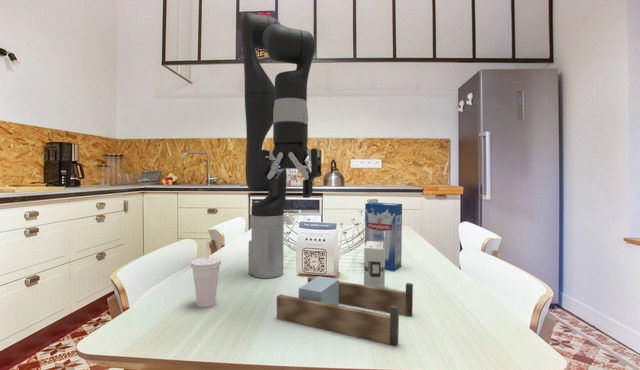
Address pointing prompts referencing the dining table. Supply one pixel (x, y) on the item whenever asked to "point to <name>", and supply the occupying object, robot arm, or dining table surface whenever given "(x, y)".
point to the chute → (352, 311)
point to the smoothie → (206, 278)
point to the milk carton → (389, 221)
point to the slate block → (321, 290)
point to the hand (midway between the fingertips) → (290, 196)
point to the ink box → (374, 263)
